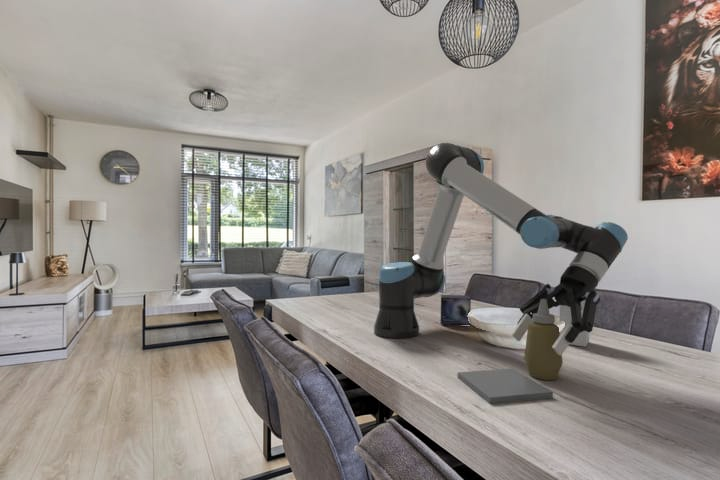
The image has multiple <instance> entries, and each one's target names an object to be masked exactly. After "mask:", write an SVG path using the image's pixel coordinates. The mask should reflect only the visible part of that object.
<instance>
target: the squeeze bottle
mask: <svg viewBox="0 0 720 480" xmlns="http://www.w3.org/2000/svg"><path fill="white" fill-rule="evenodd" d="M555 319H556V317H555V315H554V314H551V313H550V309H548V304H547V300H546V299H541V300H540V304H539V309H538V313H534V314H533V319H532V320H533V321H534V322H531V323H530V324H529V325H528V330H527V331H526V334H527V335H526V341H525V350H524V362H525V365H526V369H527V370H528V374H529V375H530V376H531V377H532V378H536V379H538V380H539V379H540V380H545V381H554V380H557V378H558V376H559V373H560V371H561V368H562V366H563V363H564V362H563V361H564V360H563V354H562V355H561V356H560V355H558V354H557V353H556V351H555V350H554V349H553V348H552V346H553V345H554V343H555V342H556V340H557V339H558V337H559V336H560V332H559V326H558V325H557V324H556V323H555Z"/></svg>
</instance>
